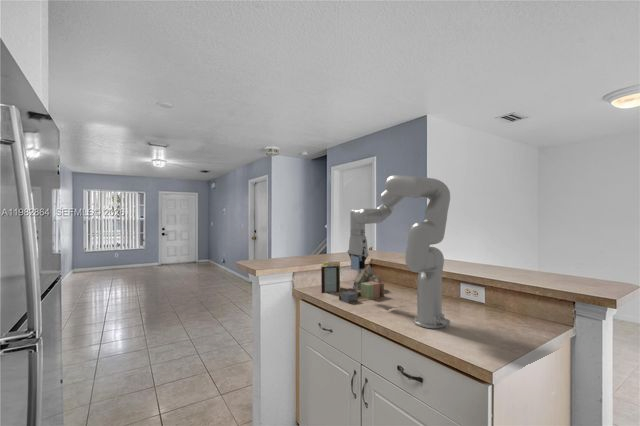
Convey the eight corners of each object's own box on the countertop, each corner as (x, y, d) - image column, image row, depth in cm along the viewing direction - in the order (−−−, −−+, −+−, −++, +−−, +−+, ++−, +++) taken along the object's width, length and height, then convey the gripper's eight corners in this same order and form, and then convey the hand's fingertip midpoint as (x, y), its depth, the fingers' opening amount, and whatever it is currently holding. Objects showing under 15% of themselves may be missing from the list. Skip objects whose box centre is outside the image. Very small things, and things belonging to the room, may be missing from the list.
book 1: (364, 270, 157) (364, 256, 157) (358, 270, 155) (358, 257, 155) (356, 268, 162) (356, 255, 162) (351, 269, 160) (351, 255, 160)
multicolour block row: (383, 298, 163) (383, 283, 163) (350, 306, 150) (349, 289, 150) (372, 294, 171) (372, 280, 171) (338, 301, 158) (338, 286, 158)
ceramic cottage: (350, 288, 186) (351, 263, 185) (375, 287, 189) (376, 263, 188) (358, 296, 170) (359, 270, 169) (385, 296, 174) (387, 270, 173)
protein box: (340, 287, 189) (340, 262, 189) (339, 293, 173) (339, 266, 173) (323, 286, 190) (323, 261, 190) (321, 293, 174) (320, 266, 174)
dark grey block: (357, 301, 155) (357, 293, 155) (348, 303, 152) (348, 295, 152) (350, 298, 160) (350, 290, 160) (340, 300, 157) (340, 292, 157)
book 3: (380, 296, 164) (379, 283, 164) (374, 297, 161) (374, 284, 161) (372, 294, 169) (372, 281, 169) (366, 295, 166) (366, 282, 166)
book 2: (373, 297, 161) (373, 284, 161) (368, 299, 159) (368, 285, 159) (366, 295, 166) (366, 282, 166) (360, 296, 164) (360, 283, 164)
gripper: (374, 233, 154) (374, 269, 154) (352, 231, 168) (352, 264, 168) (363, 234, 150) (363, 271, 150) (341, 232, 164) (341, 266, 164)
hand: (357, 267), depth 159 cm, fingers closed on book 1, 6 cm apart
